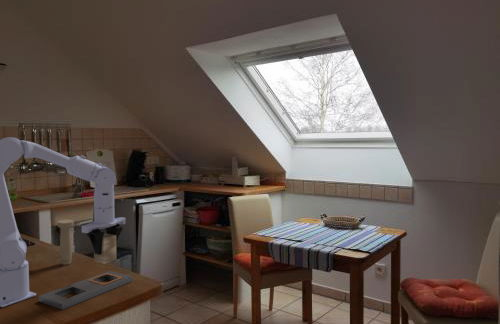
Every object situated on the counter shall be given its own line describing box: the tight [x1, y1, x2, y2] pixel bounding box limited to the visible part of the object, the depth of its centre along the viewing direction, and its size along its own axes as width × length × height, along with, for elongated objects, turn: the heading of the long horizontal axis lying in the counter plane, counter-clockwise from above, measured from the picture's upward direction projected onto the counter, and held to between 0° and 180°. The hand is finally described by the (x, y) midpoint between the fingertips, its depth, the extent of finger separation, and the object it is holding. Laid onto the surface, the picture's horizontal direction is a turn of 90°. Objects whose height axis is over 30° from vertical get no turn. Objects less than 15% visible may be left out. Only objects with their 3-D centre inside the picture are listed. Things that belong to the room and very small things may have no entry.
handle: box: [57, 219, 75, 266], centre depth 140 cm, size 5×6×15 cm
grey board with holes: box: [38, 270, 133, 311], centre depth 117 cm, size 24×10×2 cm, turn 150°
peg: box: [93, 233, 117, 265], centre depth 121 cm, size 4×4×8 cm
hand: (105, 251), depth 121 cm, fingers closed on peg, 4 cm apart
